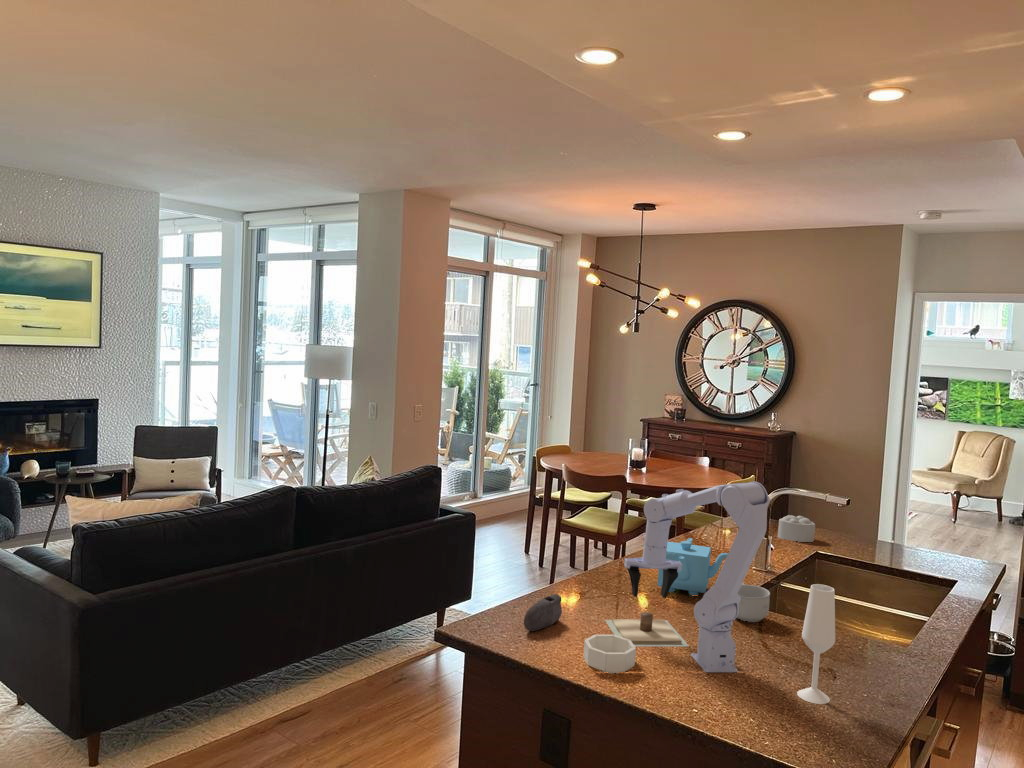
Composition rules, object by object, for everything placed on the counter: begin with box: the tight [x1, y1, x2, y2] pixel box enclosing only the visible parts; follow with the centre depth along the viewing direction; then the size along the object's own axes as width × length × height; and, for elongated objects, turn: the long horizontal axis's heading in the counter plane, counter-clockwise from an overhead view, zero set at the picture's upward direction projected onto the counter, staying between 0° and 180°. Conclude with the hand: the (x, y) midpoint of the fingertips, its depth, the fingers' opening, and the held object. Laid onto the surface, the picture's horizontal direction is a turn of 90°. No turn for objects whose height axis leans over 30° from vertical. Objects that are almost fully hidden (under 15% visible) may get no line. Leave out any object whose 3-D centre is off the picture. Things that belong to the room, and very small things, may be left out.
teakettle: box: [656, 537, 729, 596], centre depth 235 cm, size 19×19×15 cm
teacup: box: [736, 582, 771, 623], centre depth 215 cm, size 14×11×8 cm
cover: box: [611, 611, 682, 644], centre depth 198 cm, size 14×14×5 cm
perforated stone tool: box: [523, 593, 563, 632], centre depth 200 cm, size 15×5×7 cm, turn 141°
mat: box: [604, 619, 690, 648], centre depth 198 cm, size 17×17×1 cm
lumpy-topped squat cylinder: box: [777, 514, 816, 543], centre depth 305 cm, size 10×13×9 cm
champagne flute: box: [796, 583, 836, 705], centre depth 168 cm, size 7×7×24 cm
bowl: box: [583, 634, 637, 674], centre depth 180 cm, size 11×11×4 cm
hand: (649, 595), depth 198 cm, fingers open, 7 cm apart
